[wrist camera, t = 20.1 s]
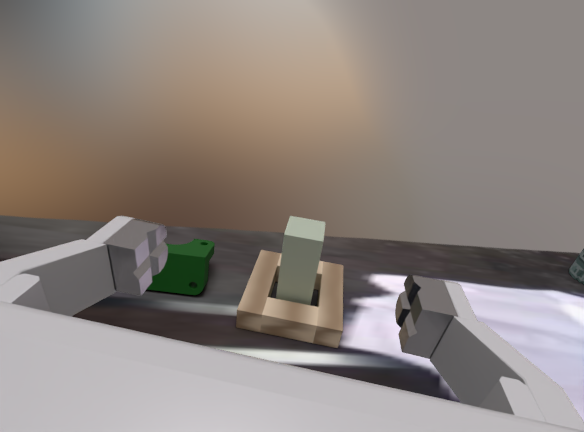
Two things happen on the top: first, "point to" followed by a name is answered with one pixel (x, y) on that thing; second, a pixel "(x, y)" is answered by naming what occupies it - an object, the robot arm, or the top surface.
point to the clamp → (185, 268)
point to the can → (578, 268)
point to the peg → (300, 260)
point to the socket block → (293, 305)
